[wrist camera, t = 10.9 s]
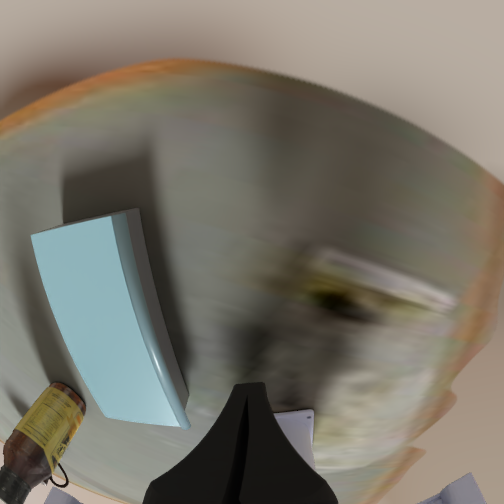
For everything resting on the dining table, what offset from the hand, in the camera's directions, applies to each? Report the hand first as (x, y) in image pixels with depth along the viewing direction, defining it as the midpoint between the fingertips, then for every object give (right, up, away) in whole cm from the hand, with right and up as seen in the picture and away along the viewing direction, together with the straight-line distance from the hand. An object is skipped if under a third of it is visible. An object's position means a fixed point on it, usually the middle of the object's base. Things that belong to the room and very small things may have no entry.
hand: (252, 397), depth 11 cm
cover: (-11, 0, +6) cm, 12 cm away
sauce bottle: (-24, -12, +14) cm, 30 cm away
